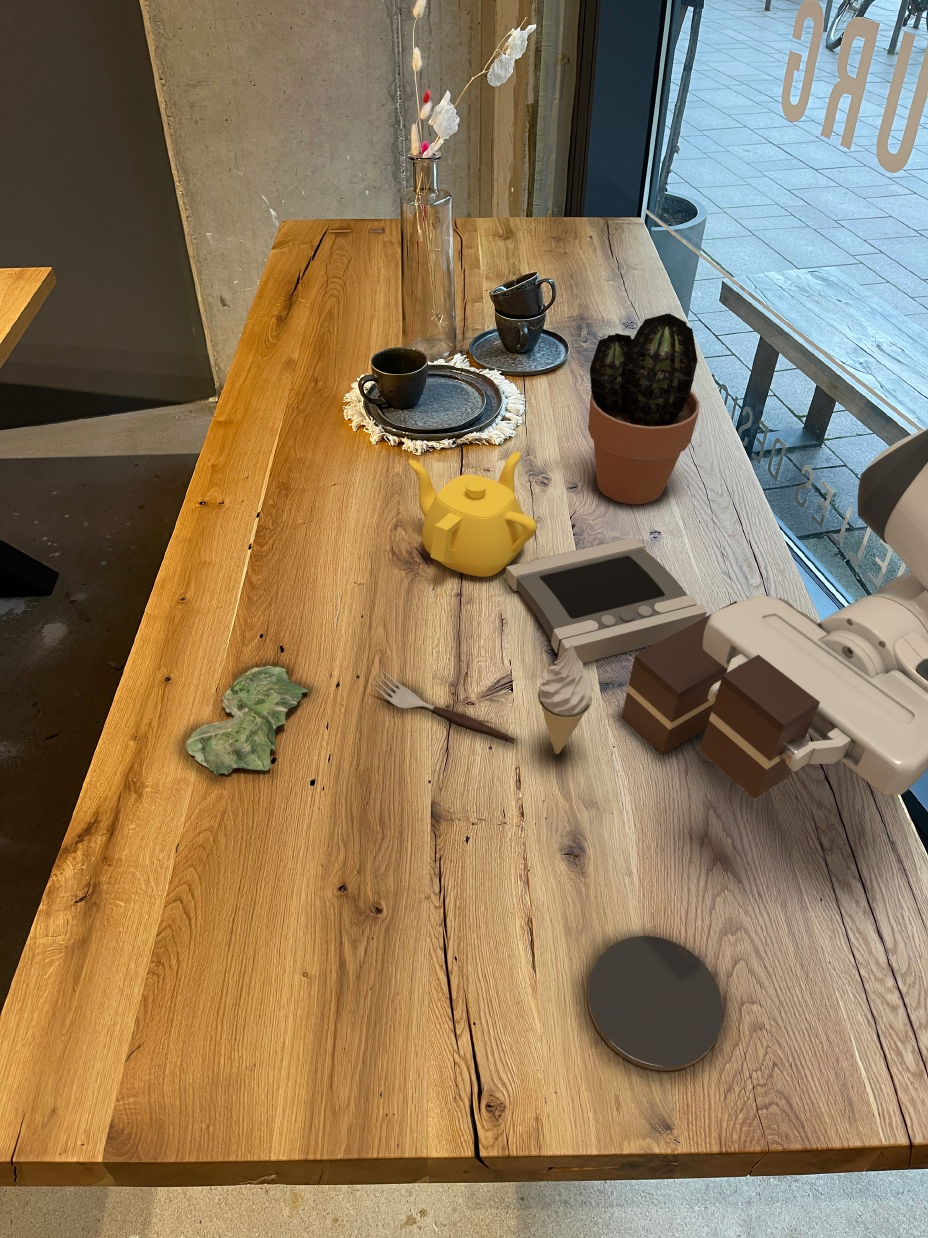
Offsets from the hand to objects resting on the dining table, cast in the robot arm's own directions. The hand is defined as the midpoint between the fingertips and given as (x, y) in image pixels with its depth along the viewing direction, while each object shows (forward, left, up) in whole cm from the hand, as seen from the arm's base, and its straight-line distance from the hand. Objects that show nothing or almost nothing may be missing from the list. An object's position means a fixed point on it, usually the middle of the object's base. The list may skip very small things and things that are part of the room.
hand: (750, 728), depth 70 cm
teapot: (+41, -26, -17) cm, 51 cm away
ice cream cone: (+17, -3, -17) cm, 24 cm away
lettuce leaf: (+45, +10, -17) cm, 49 cm away
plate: (-1, +15, -17) cm, 23 cm away
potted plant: (+30, -49, -17) cm, 59 cm away
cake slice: (0, -1, -5) cm, 5 cm away
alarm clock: (+23, -25, -17) cm, 37 cm away
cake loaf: (+8, -16, -17) cm, 24 cm away
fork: (+29, -1, -17) cm, 33 cm away
